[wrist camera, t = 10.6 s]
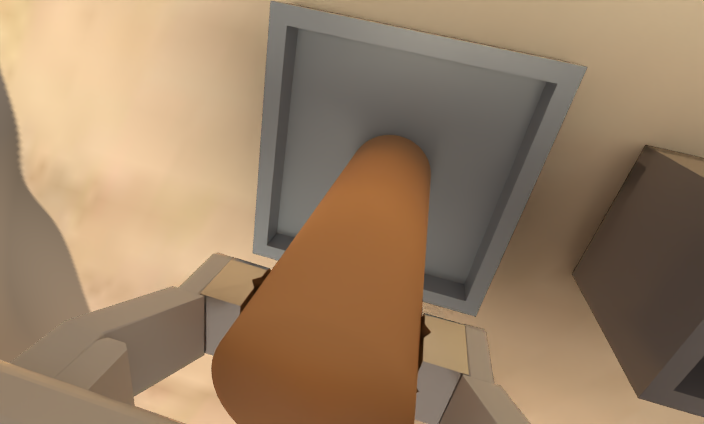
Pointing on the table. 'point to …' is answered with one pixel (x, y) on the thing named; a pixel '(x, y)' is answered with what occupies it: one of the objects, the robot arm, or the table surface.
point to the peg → (339, 304)
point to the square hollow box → (653, 278)
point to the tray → (408, 133)
